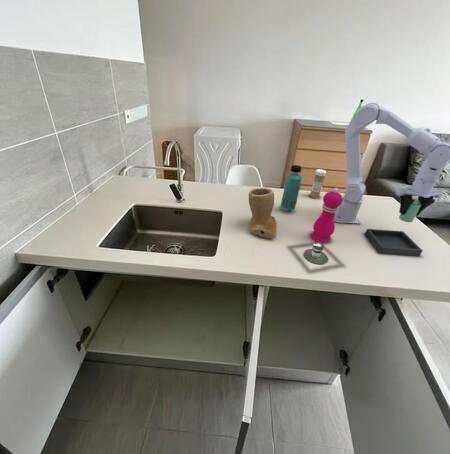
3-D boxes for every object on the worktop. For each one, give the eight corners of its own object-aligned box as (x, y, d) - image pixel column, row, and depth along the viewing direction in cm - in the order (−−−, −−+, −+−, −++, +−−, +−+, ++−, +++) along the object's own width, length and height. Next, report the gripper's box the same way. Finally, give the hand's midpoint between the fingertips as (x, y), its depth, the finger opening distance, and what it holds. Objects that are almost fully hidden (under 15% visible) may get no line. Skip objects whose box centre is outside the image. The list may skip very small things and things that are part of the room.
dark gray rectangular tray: (379, 253, 83) (382, 247, 82) (364, 234, 93) (366, 228, 92) (419, 256, 83) (422, 250, 82) (400, 236, 93) (403, 231, 92)
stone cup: (247, 215, 100) (250, 182, 93) (276, 219, 99) (282, 185, 91) (242, 236, 88) (246, 199, 80) (275, 241, 86) (282, 204, 78)
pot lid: (341, 265, 77) (346, 253, 74) (309, 271, 74) (313, 259, 71) (319, 243, 87) (323, 231, 84) (289, 247, 83) (292, 235, 81)
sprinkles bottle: (321, 197, 120) (328, 171, 112) (315, 199, 117) (322, 172, 110) (313, 193, 123) (320, 168, 116) (307, 195, 120) (314, 169, 113)
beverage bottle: (278, 211, 105) (286, 166, 95) (281, 205, 110) (289, 162, 100) (293, 215, 103) (304, 169, 93) (295, 208, 108) (305, 164, 98)
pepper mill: (306, 234, 91) (320, 185, 80) (321, 230, 94) (336, 182, 83) (319, 245, 85) (336, 194, 75) (335, 241, 88) (353, 191, 77)
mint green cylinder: (403, 222, 89) (413, 202, 84) (396, 215, 92) (405, 197, 88) (415, 222, 88) (425, 203, 84) (407, 216, 92) (417, 197, 88)
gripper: (411, 182, 79) (394, 218, 86) (457, 185, 78) (435, 220, 86) (399, 174, 85) (384, 208, 92) (441, 177, 85) (422, 211, 92)
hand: (408, 213), depth 89 cm, fingers closed on mint green cylinder, 4 cm apart
